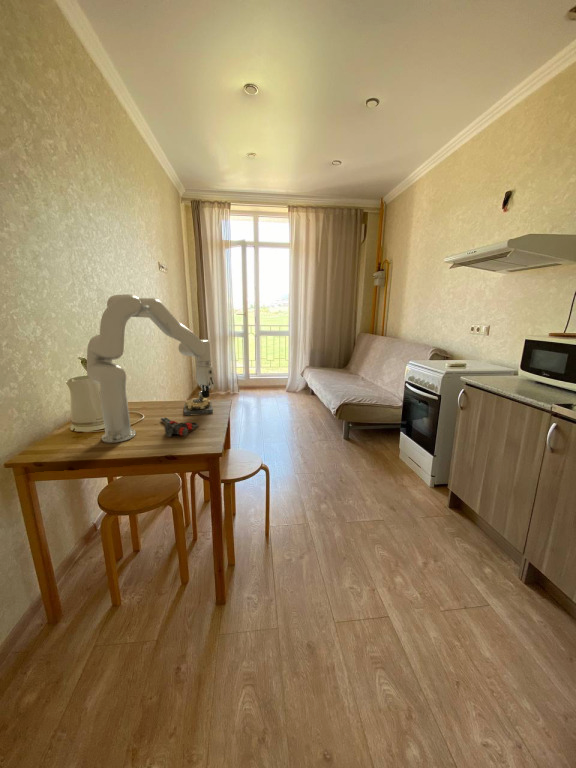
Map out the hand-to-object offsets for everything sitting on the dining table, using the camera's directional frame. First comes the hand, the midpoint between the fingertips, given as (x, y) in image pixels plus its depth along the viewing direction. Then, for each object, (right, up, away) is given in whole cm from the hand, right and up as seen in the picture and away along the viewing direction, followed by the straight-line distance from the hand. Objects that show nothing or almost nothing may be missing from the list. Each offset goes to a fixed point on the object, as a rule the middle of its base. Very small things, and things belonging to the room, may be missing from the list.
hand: (205, 397), depth 164 cm
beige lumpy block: (-4, -5, -2) cm, 6 cm away
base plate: (-4, -7, -1) cm, 8 cm away
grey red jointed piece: (-6, -13, -25) cm, 29 cm away
